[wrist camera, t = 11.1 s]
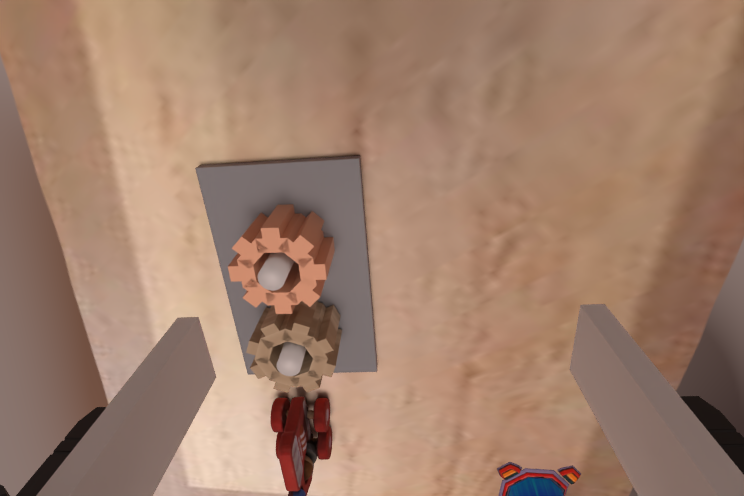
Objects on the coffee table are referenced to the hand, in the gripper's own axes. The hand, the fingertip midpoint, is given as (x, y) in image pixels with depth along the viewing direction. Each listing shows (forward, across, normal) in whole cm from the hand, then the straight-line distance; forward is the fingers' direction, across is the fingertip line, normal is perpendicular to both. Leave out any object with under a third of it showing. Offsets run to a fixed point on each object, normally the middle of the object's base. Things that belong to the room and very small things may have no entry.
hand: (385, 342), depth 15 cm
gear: (+27, -11, -18) cm, 35 cm away
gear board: (+29, -11, -13) cm, 33 cm away
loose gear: (+28, -11, -9) cm, 31 cm away
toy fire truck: (+29, -13, -35) cm, 47 cm away
